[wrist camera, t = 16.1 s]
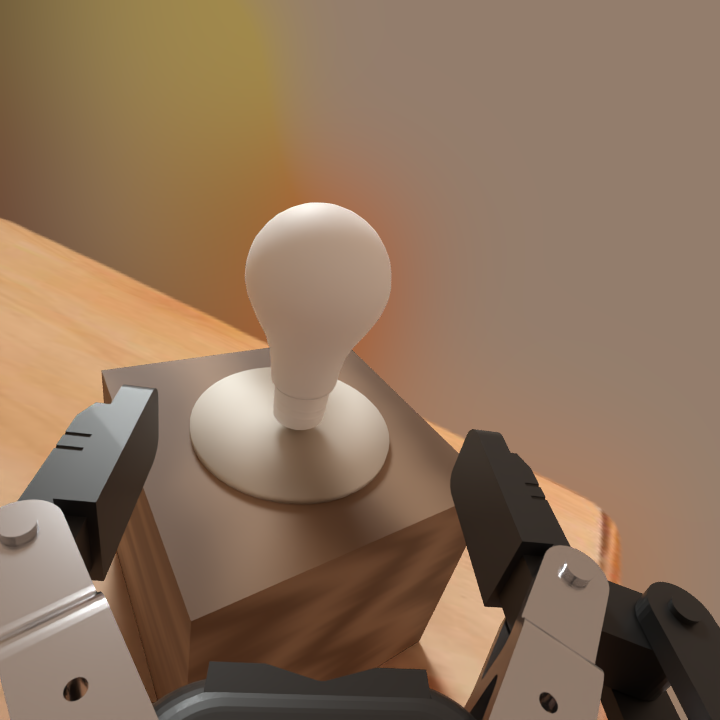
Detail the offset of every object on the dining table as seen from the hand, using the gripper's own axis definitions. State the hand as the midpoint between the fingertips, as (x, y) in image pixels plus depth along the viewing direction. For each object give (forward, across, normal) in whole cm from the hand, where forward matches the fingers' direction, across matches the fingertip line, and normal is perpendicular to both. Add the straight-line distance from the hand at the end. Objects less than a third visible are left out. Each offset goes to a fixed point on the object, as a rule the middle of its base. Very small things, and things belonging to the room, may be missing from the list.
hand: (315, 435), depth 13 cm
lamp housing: (+10, 0, +22) cm, 24 cm away
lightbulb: (+10, 0, +8) cm, 12 cm away
